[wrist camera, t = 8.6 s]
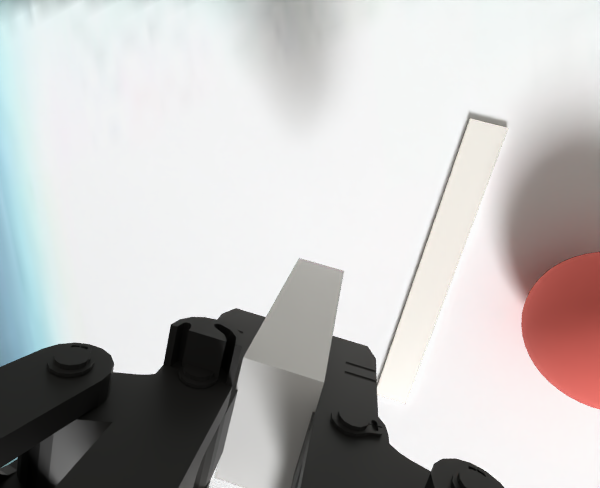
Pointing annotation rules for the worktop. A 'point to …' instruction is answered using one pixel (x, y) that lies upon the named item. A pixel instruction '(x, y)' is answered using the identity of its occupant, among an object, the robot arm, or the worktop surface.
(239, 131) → the worktop surface
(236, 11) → the worktop surface
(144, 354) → the worktop surface
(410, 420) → the worktop surface
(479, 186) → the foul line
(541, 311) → the ball
